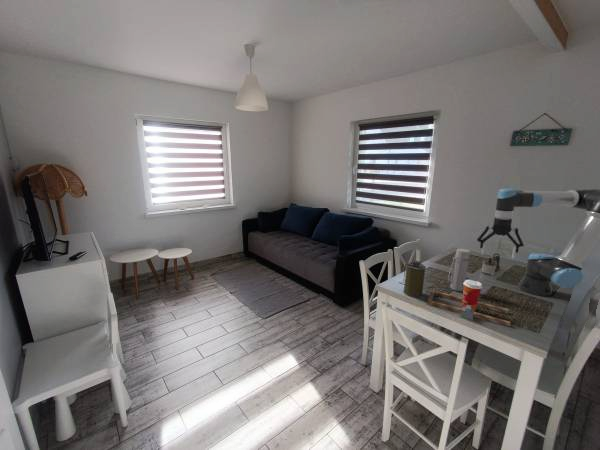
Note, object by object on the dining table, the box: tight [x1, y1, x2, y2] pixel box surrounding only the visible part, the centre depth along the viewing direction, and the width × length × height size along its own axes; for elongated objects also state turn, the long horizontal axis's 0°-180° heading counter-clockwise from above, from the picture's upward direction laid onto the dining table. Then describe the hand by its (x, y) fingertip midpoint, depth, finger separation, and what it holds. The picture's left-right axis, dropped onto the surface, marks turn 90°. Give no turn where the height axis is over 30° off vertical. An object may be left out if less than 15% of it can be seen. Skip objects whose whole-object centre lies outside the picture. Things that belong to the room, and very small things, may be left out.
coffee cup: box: [461, 279, 483, 312], centre depth 138 cm, size 8×8×15 cm
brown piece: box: [426, 289, 511, 328], centre depth 140 cm, size 36×15×2 cm, turn 55°
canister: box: [403, 259, 427, 298], centre depth 154 cm, size 11×10×20 cm
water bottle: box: [447, 248, 470, 292], centre depth 159 cm, size 9×8×25 cm
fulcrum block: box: [460, 305, 474, 321], centre depth 131 cm, size 5×4×6 cm
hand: (497, 255), depth 146 cm, fingers open, 13 cm apart
